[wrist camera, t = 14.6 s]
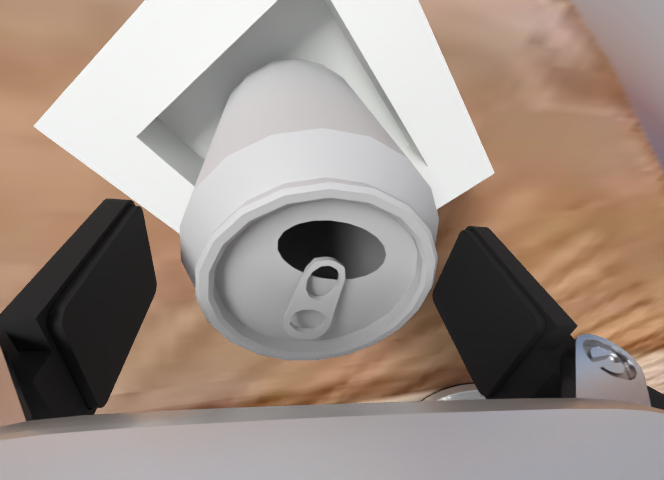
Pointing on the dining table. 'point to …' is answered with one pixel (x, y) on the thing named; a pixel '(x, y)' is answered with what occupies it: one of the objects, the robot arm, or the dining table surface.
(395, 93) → the riser
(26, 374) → the robot arm
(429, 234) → the can
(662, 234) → the dining table surface
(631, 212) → the dining table surface
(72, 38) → the dining table surface
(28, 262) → the dining table surface
